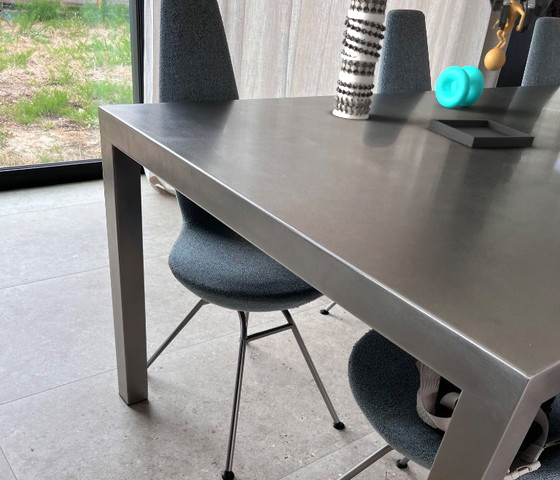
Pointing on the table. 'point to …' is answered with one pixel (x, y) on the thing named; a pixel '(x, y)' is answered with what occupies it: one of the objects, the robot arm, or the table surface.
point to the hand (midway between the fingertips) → (513, 28)
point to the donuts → (459, 86)
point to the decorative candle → (359, 58)
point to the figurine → (497, 55)
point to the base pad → (480, 133)
